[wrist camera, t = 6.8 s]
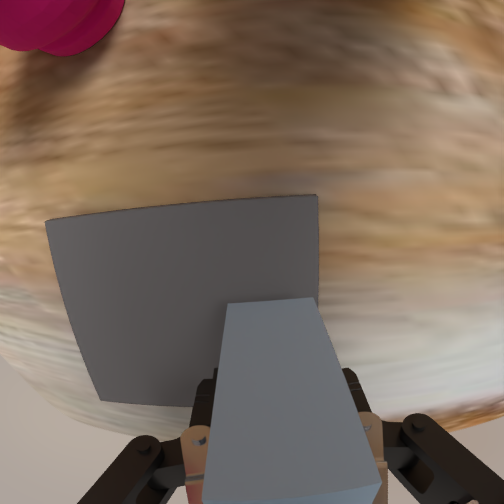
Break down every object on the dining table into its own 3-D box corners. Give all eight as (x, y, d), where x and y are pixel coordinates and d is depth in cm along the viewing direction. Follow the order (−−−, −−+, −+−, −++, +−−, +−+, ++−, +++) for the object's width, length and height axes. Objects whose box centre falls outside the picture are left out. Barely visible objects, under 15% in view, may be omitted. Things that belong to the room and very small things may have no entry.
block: (227, 303, 15) (201, 499, 5) (313, 297, 15) (382, 482, 5) (239, 396, 17) (233, 561, 7) (311, 391, 17) (344, 551, 7)
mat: (49, 219, 17) (44, 221, 16) (315, 194, 17) (318, 195, 16) (103, 395, 21) (100, 400, 21) (312, 395, 21) (313, 401, 20)
